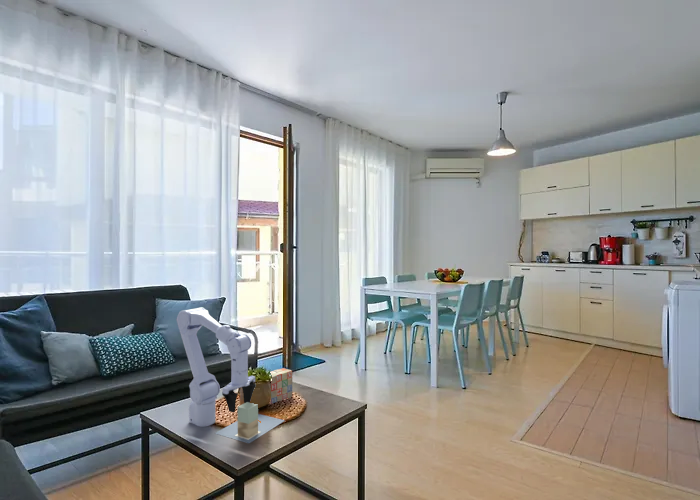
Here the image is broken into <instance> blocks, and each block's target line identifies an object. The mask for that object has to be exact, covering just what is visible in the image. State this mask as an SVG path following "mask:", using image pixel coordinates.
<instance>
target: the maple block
mask: <svg viewBox="0 0 700 500" xmlns="http://www.w3.org/2000/svg"><path fill="white" fill-rule="evenodd" d="M237 421H238V420H237ZM256 433H258V419H256V420H254V421H253V422H251V423H249V424H247V423H243V422H239V421H238V435H239V436H242V437H245V438H250V437H252V436H253V435H255V434H256Z"/></svg>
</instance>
